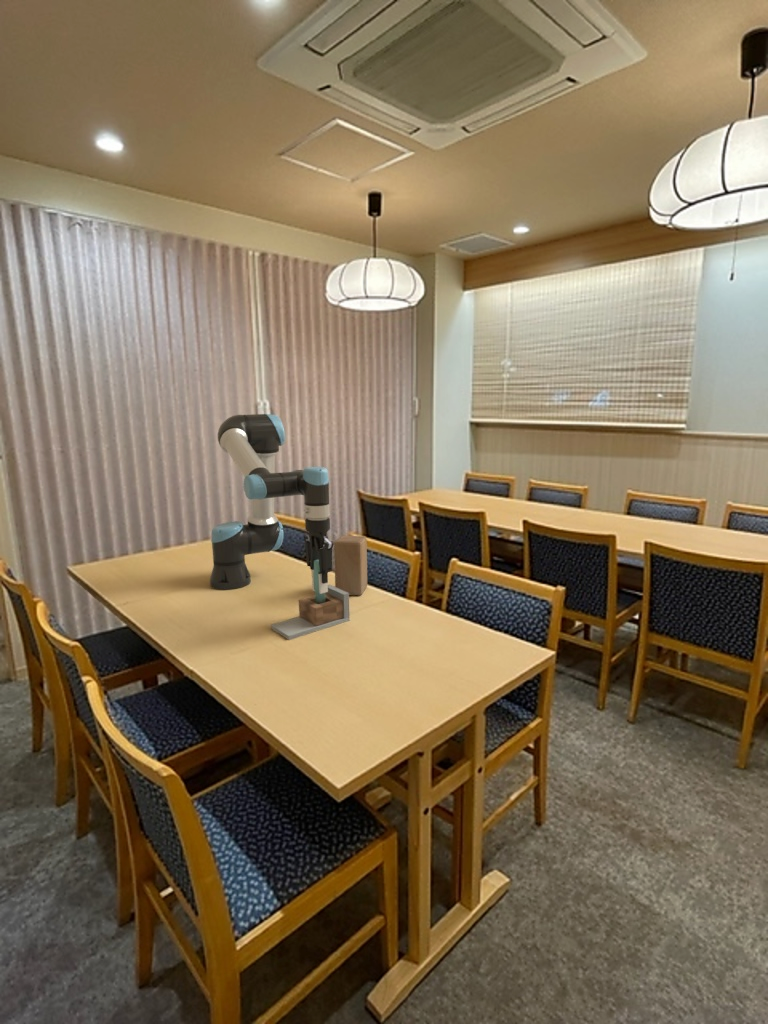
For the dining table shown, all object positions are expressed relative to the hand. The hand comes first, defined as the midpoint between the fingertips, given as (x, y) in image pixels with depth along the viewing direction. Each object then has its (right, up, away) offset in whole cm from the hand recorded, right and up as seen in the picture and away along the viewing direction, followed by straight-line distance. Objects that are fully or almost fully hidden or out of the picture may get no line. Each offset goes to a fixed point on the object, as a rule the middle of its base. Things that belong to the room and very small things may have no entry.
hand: (320, 590), depth 172 cm
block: (+8, -5, +30) cm, 31 cm away
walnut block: (0, -8, +2) cm, 9 cm away
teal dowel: (0, -4, +1) cm, 4 cm away
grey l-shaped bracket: (-3, -10, 0) cm, 11 cm away
